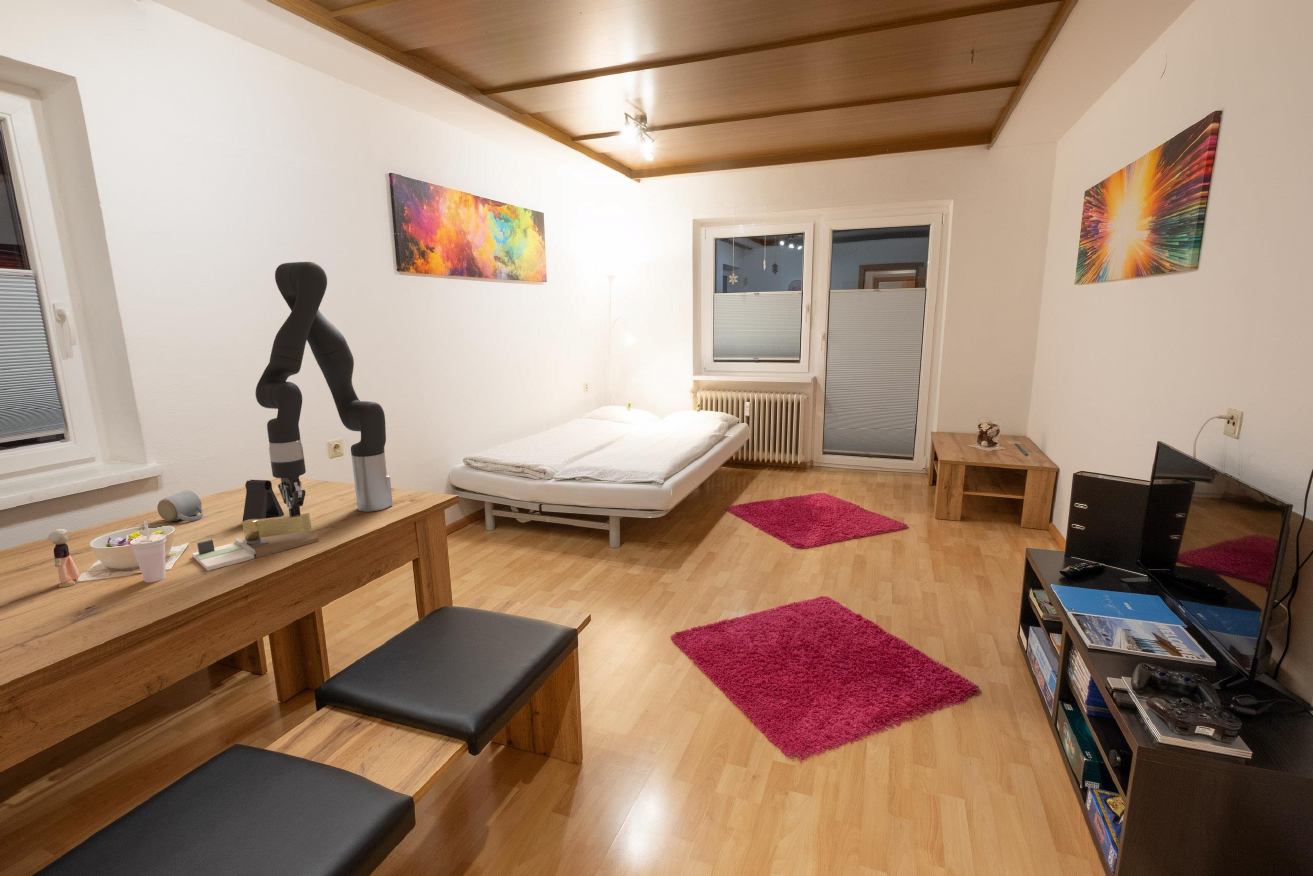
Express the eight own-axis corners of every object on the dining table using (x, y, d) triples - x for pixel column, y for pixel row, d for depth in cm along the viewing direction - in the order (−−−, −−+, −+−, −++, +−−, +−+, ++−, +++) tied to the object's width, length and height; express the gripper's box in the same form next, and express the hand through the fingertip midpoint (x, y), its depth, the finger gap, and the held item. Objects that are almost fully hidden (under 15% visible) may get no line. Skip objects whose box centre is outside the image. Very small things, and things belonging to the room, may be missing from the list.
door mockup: (300, 530, 168) (298, 517, 167) (318, 541, 160) (317, 527, 159) (192, 556, 150) (190, 542, 149) (207, 570, 142) (205, 555, 141)
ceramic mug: (157, 522, 176) (152, 496, 174) (184, 512, 184) (180, 488, 182) (186, 525, 173) (181, 499, 172) (212, 515, 181) (208, 491, 180)
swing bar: (243, 541, 153) (240, 523, 152) (246, 536, 156) (244, 519, 155) (310, 533, 158) (308, 516, 157) (312, 528, 162) (309, 512, 161)
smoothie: (143, 587, 133) (131, 527, 130) (132, 581, 136) (120, 522, 134) (178, 576, 138) (167, 519, 136) (166, 570, 142) (155, 514, 139)
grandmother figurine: (81, 584, 135) (69, 531, 132) (57, 590, 132) (44, 535, 130) (80, 574, 140) (69, 522, 138) (57, 579, 138) (45, 527, 135)
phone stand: (260, 525, 172) (254, 485, 170) (242, 524, 173) (235, 484, 171) (284, 515, 181) (279, 476, 178) (266, 514, 182) (261, 475, 179)
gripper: (312, 458, 156) (320, 522, 159) (293, 451, 164) (301, 512, 168) (280, 464, 150) (289, 530, 154) (262, 456, 159) (271, 519, 162)
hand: (295, 520), depth 161 cm, fingers closed
